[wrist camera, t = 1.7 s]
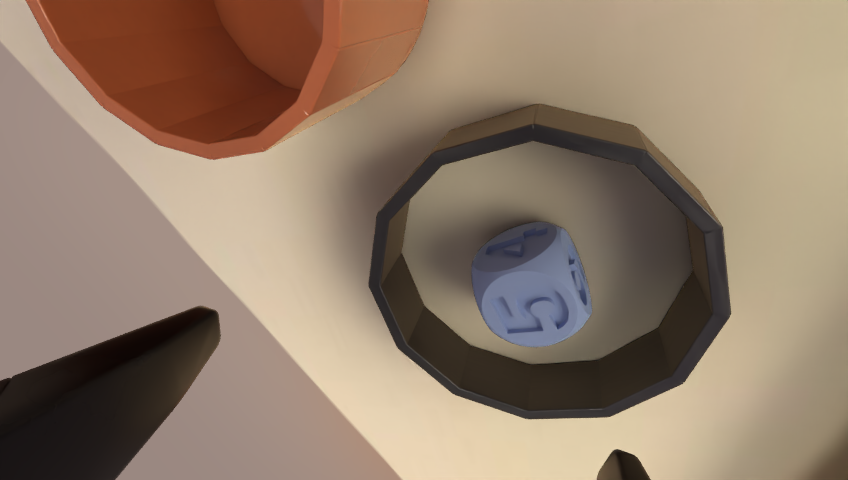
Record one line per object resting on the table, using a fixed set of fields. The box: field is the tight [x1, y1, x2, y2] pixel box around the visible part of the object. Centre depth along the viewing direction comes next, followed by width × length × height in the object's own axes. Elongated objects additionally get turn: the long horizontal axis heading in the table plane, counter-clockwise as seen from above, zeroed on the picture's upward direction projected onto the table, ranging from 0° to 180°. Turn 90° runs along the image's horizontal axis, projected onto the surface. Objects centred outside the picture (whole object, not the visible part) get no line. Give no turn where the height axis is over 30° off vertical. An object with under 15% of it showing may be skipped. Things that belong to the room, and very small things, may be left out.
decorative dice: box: [471, 222, 592, 347], centre depth 20 cm, size 4×4×4 cm
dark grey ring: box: [369, 104, 731, 419], centre depth 20 cm, size 14×14×3 cm
